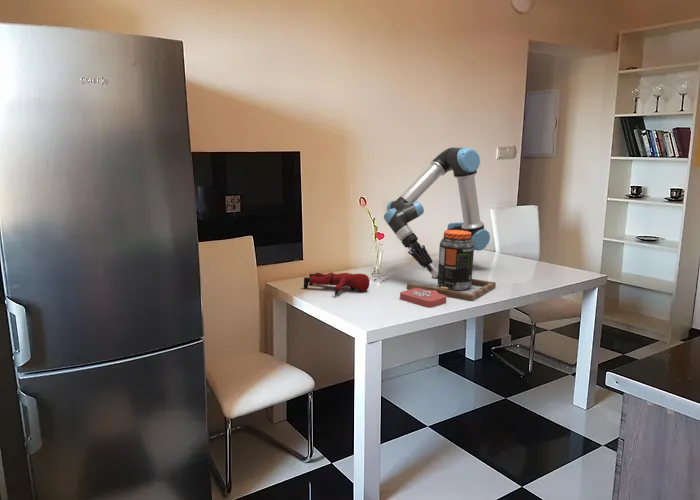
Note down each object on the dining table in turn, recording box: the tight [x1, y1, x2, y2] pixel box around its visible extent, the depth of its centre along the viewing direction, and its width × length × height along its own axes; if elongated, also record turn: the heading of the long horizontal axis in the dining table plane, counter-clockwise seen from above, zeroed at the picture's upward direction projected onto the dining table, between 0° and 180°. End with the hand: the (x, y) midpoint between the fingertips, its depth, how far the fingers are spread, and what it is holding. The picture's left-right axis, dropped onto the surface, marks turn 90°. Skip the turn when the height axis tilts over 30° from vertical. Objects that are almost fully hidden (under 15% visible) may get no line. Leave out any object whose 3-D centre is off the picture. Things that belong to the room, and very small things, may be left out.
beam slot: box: [406, 275, 497, 302], centre depth 251 cm, size 28×32×4 cm
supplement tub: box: [437, 230, 475, 291], centre depth 252 cm, size 16×16×26 cm
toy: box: [303, 272, 370, 296], centre depth 249 cm, size 28×8×30 cm
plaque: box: [399, 288, 448, 308], centre depth 233 cm, size 18×4×15 cm
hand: (436, 276), depth 254 cm, fingers closed
